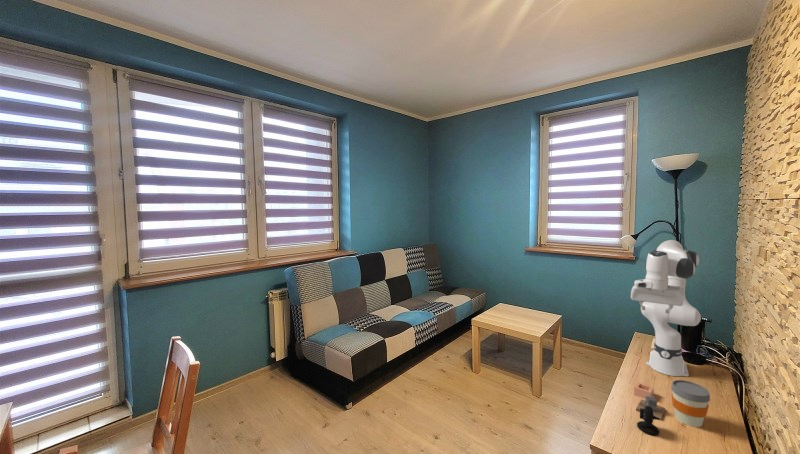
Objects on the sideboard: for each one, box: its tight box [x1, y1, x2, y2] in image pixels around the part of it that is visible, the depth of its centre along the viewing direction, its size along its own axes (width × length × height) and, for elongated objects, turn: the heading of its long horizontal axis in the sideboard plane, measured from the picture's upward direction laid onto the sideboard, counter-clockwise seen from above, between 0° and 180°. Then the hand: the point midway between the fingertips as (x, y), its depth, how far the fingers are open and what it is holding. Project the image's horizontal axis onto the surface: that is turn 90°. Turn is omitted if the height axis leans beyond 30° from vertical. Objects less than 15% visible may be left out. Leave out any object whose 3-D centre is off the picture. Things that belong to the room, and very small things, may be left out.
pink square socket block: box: [633, 381, 655, 400], centre depth 157 cm, size 7×7×4 cm
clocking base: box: [635, 395, 666, 421], centre depth 146 cm, size 10×9×6 cm
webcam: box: [636, 406, 661, 436], centre depth 134 cm, size 8×8×10 cm
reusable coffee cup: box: [670, 379, 711, 428], centre depth 139 cm, size 13×13×15 cm
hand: (655, 311), depth 156 cm, fingers open, 8 cm apart
